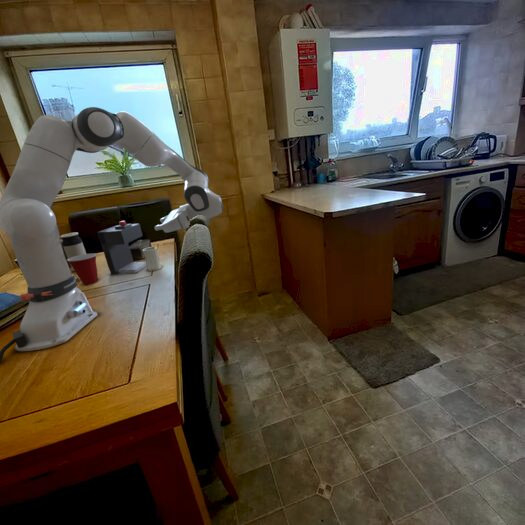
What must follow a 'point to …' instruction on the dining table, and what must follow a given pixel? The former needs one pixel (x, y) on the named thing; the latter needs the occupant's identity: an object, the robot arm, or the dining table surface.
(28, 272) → the robot arm
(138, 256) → the beverage carton
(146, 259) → the creamer cup
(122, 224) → the brew button
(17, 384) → the dining table surface
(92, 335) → the dining table surface
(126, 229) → the coffee maker
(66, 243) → the travel mug
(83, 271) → the plastic cup
